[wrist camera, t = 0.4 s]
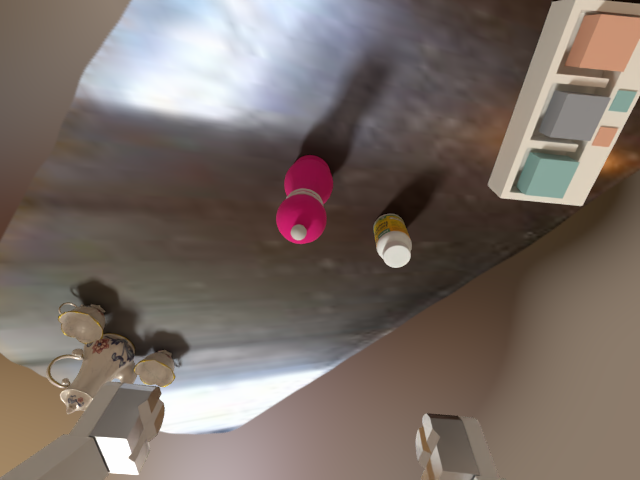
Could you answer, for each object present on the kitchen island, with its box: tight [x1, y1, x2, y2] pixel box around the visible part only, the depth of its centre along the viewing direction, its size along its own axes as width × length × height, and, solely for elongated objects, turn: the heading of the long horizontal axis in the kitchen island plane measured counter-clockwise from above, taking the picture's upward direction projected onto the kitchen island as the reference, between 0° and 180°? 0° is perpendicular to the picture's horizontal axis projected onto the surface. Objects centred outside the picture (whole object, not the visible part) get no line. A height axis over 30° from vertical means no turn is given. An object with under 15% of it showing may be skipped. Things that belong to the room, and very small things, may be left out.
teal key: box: [516, 152, 580, 199], centre depth 48 cm, size 5×5×3 cm
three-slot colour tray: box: [488, 0, 640, 206], centre depth 46 cm, size 24×12×5 cm, turn 175°
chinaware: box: [46, 303, 175, 414], centre depth 70 cm, size 28×17×17 cm, turn 47°
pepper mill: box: [276, 155, 333, 244], centre depth 46 cm, size 7×7×20 cm
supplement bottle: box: [374, 214, 412, 268], centre depth 55 cm, size 5×5×10 cm
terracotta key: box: [565, 14, 640, 72], centre depth 40 cm, size 5×5×3 cm
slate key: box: [538, 90, 611, 141], centre depth 44 cm, size 5×5×3 cm
